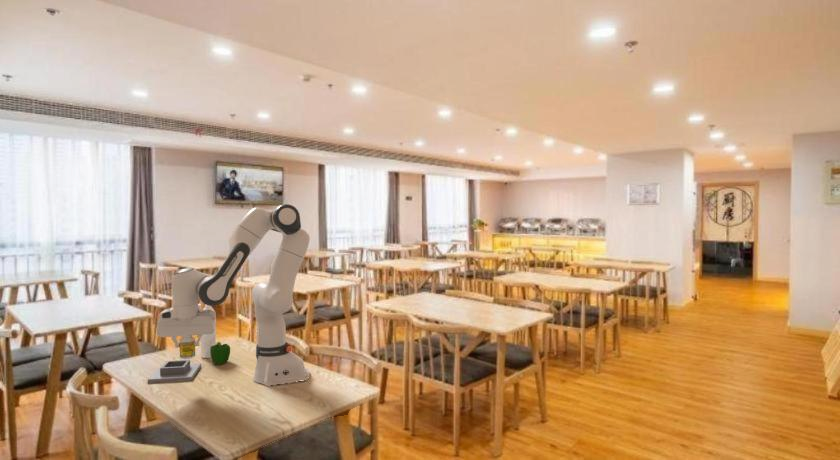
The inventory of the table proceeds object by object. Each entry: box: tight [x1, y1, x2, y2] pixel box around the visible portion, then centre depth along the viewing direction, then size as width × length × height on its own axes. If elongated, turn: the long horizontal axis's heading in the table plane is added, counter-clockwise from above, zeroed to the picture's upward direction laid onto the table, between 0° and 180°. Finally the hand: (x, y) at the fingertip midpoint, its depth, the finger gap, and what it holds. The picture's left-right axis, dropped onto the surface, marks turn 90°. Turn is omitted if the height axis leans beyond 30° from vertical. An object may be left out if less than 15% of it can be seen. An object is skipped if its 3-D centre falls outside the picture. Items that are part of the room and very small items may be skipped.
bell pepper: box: [210, 341, 231, 366], centre depth 208 cm, size 8×8×10 cm
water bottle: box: [198, 303, 217, 359], centre depth 216 cm, size 9×6×25 cm
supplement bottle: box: [178, 334, 196, 360], centre depth 179 cm, size 5×5×10 cm
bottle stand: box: [147, 359, 202, 384], centre depth 194 cm, size 16×16×4 cm
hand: (187, 346), depth 179 cm, fingers closed on supplement bottle, 5 cm apart
